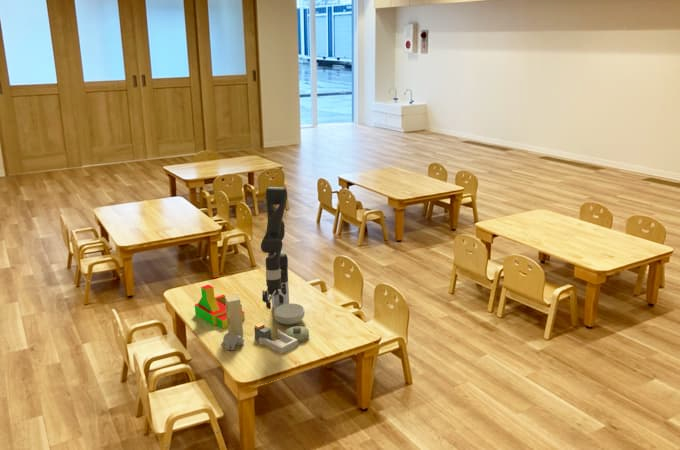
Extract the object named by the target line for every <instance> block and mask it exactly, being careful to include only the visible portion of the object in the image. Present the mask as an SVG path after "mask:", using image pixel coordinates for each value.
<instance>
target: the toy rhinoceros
mask: <svg viewBox="0 0 680 450" xmlns="http://www.w3.org/2000/svg"><path fill="white" fill-rule="evenodd" d="M222 340H223V341H222V342H220V343H221V344H220V347H222V348H224V350H230V351H234V350H235V346H236V345H239V346H242V345H244V342H245V338H244V335H243V336H240V334H239V335H238V336H237V335H236V334H235V333H233V332H227V333H225V334H224V335H223V339H222Z"/></svg>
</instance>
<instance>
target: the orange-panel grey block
mask: <svg viewBox="0 0 680 450" xmlns="http://www.w3.org/2000/svg"><path fill="white" fill-rule="evenodd" d="M253 331H254V338H255V339H256V340H259V338H260V337H261V338H267V339H269V340H271V341H273V340H272V329H271V328H269V327H267V326H265V324H264V323H263V322H259V323H257V324H255V325H254V330H253Z"/></svg>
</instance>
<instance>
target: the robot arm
mask: <svg viewBox="0 0 680 450" xmlns="http://www.w3.org/2000/svg"><path fill="white" fill-rule="evenodd" d="M287 201H288V190H287V188H286V187H284V186H281V187H279V186H268V187H266V190H265V203H266V213H267V218H266V219H267V222H266V223H267V224H266V231H265V235H264V236H263V238H262V240H261V243H260V249H261V251H262V253H266V254H268V256H267V257H266V258H265V280H266V284H265V285H266V287H267V288H266V290H265V289H263V290H262V291H261V293H262V298H261V299H262V302H264V303H265V306H266V307H265V308H266V309H268V310H271V308H273V311H274V310H275V308H276V307H278V306H280V305H283V304H289V303H290V292H289V291H290V290H289V288H290V287H289V271H288V270H289V269H288V268H289V266H288V265H289V263H288V262H289V259H288V255H287V253H283V252H282V249H283V239H284V237H285V235H286V234H285V229H286V227H285V222H284V220H283V218H284V214H285V211H286V206H287ZM274 205H277V208H276V209H275V207H274Z"/></svg>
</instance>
